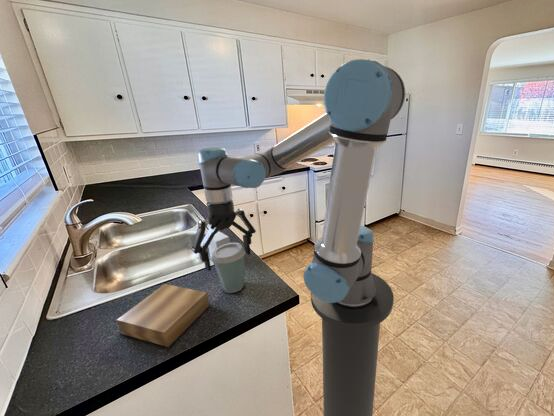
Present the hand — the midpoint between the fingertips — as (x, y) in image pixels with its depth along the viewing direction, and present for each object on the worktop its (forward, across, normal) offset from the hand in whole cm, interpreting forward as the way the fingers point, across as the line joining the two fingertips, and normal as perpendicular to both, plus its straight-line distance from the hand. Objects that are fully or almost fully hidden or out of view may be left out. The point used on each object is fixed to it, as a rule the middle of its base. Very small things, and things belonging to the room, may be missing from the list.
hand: (228, 260), depth 88 cm
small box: (+11, -5, -20) cm, 23 cm away
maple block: (+10, +20, +1) cm, 23 cm away
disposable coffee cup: (+11, 0, 0) cm, 11 cm away
